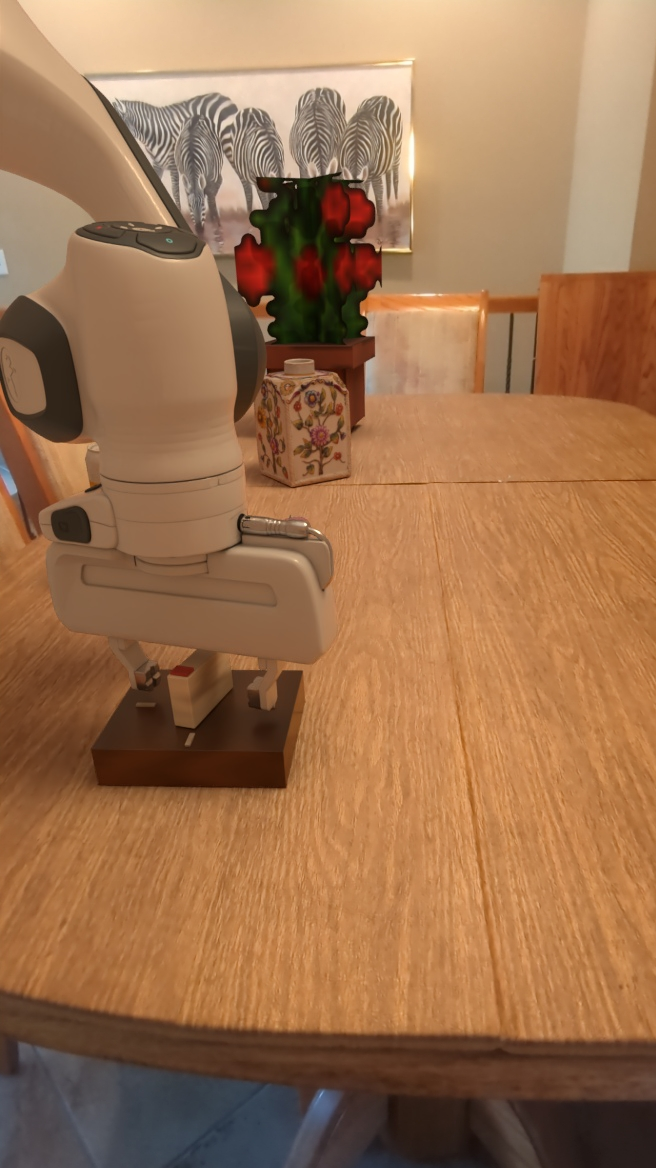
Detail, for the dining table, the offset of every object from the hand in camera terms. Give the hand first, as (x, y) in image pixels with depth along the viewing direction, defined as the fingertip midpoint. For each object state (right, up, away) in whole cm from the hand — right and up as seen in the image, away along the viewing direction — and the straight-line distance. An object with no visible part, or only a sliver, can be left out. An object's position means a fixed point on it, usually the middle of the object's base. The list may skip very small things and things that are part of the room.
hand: (203, 695), depth 54 cm
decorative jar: (+2, +31, +70) cm, 77 cm away
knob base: (0, -3, +2) cm, 4 cm away
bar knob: (0, -1, 0) cm, 1 cm away
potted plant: (+3, +47, +102) cm, 112 cm away
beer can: (-14, +11, +31) cm, 36 cm away
